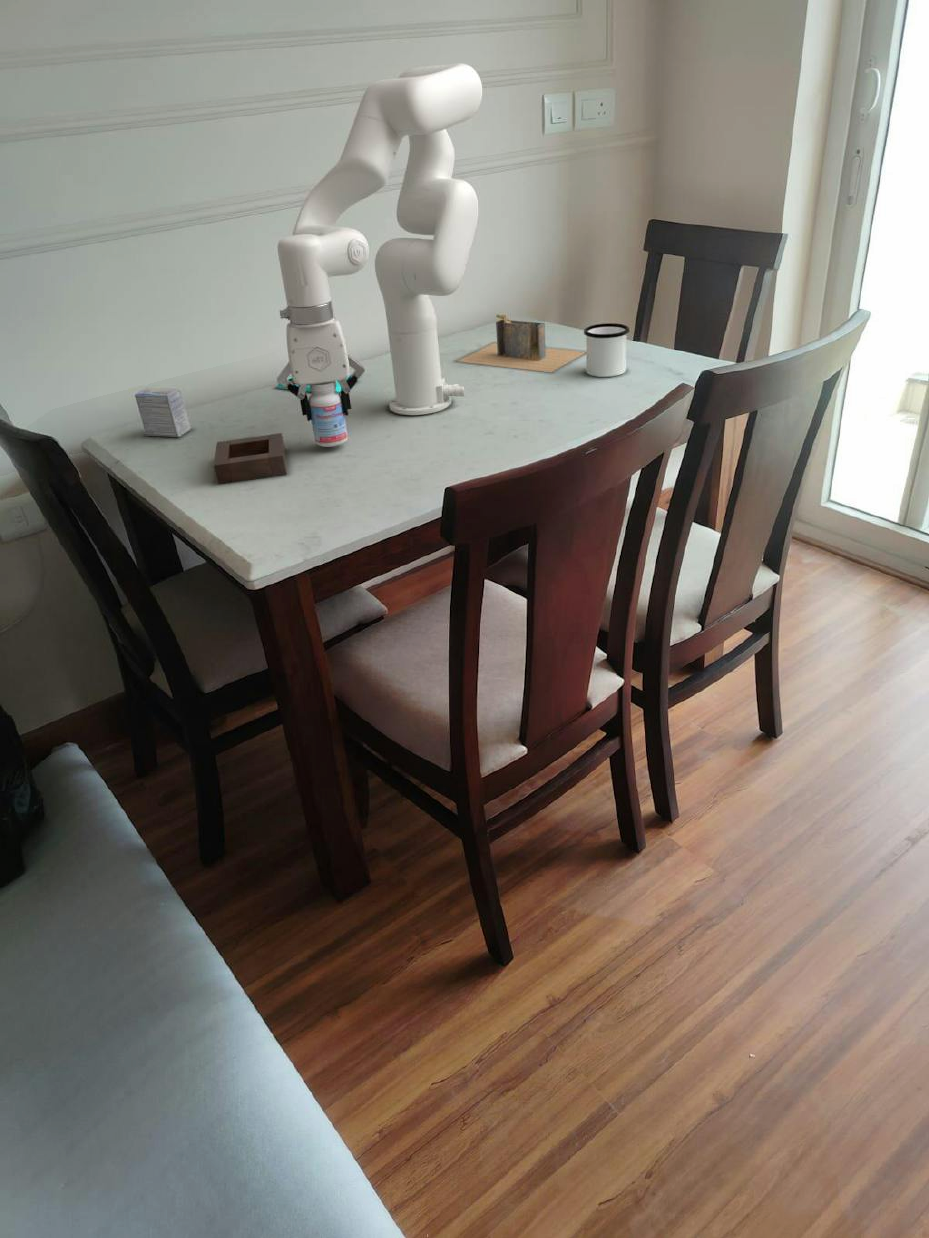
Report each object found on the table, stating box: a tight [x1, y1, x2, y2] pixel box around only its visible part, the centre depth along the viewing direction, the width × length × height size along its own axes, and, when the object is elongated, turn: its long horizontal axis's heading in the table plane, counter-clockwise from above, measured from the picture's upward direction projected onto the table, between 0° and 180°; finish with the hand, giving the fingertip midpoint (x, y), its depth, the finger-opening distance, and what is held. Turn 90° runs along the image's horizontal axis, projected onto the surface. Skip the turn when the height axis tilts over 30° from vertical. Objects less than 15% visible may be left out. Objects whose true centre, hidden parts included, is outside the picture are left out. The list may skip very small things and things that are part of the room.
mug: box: [583, 322, 630, 378], centre depth 187 cm, size 12×10×9 cm
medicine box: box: [134, 387, 192, 438], centre depth 175 cm, size 8×4×9 cm, turn 71°
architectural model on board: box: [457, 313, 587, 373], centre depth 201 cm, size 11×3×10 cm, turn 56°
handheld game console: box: [277, 374, 352, 393], centre depth 197 cm, size 10×16×1 cm, turn 60°
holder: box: [213, 432, 288, 485], centre depth 157 cm, size 12×12×4 cm
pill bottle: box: [308, 381, 348, 448], centre depth 160 cm, size 6×6×11 cm
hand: (327, 415), depth 160 cm, fingers closed on pill bottle, 6 cm apart
